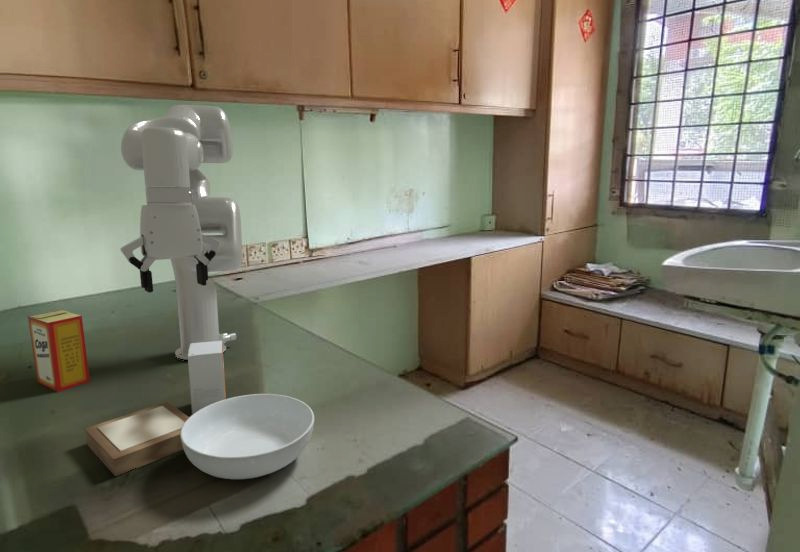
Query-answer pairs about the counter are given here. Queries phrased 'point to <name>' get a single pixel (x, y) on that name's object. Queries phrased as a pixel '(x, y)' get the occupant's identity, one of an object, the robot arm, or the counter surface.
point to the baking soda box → (59, 349)
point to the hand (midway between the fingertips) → (176, 287)
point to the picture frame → (137, 437)
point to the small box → (206, 374)
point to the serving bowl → (247, 435)
